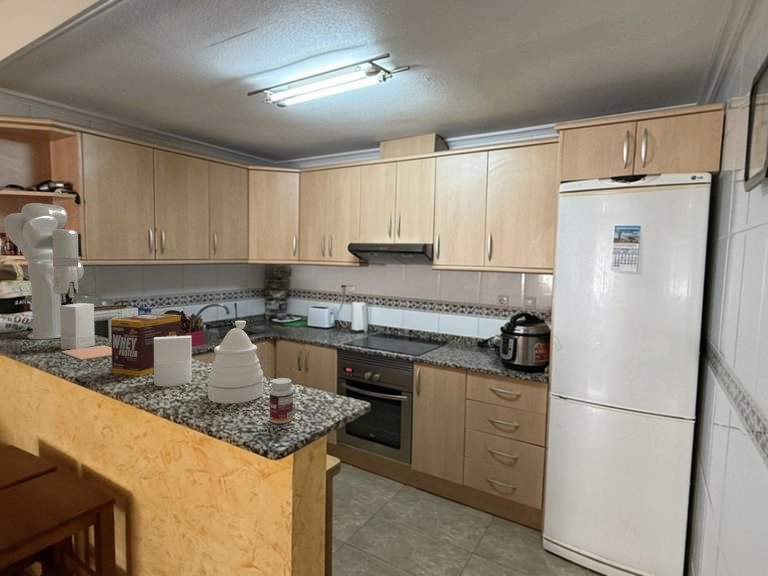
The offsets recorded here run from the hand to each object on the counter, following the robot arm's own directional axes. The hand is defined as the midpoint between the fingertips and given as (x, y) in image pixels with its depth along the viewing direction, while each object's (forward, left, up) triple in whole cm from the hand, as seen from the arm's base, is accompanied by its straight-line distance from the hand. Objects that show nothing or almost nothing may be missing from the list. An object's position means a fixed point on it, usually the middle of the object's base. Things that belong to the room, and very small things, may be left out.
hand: (67, 312), depth 153 cm
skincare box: (+10, 0, -12) cm, 15 cm away
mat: (+23, 0, -12) cm, 26 cm away
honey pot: (+96, +4, -12) cm, 97 cm away
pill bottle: (+117, 0, -12) cm, 117 cm away
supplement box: (+56, +2, -12) cm, 57 cm away
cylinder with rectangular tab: (+74, 0, -12) cm, 75 cm away
